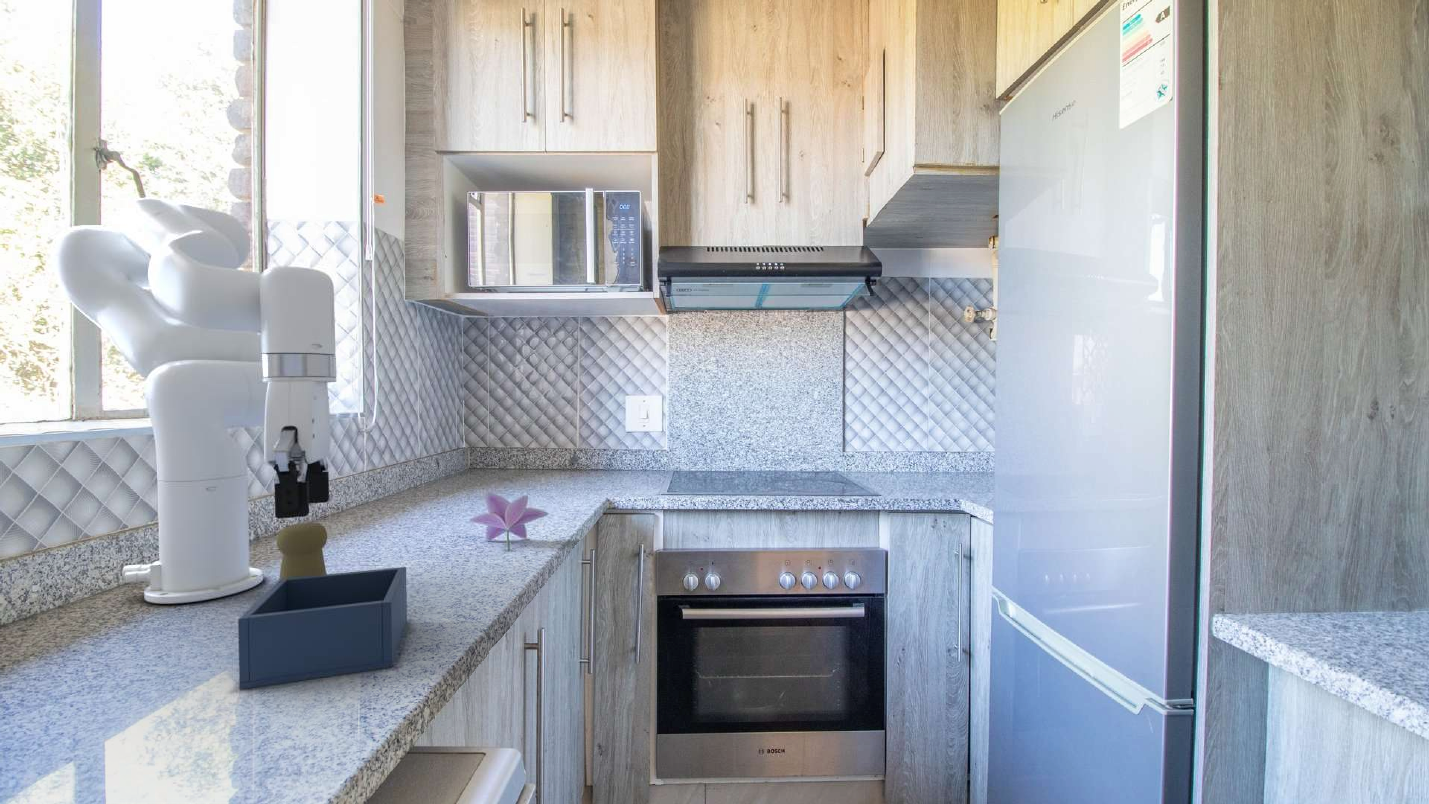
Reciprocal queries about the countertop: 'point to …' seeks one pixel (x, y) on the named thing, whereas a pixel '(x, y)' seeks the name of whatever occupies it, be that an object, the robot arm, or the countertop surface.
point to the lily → (507, 516)
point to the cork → (302, 550)
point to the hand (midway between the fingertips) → (304, 509)
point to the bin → (323, 627)
